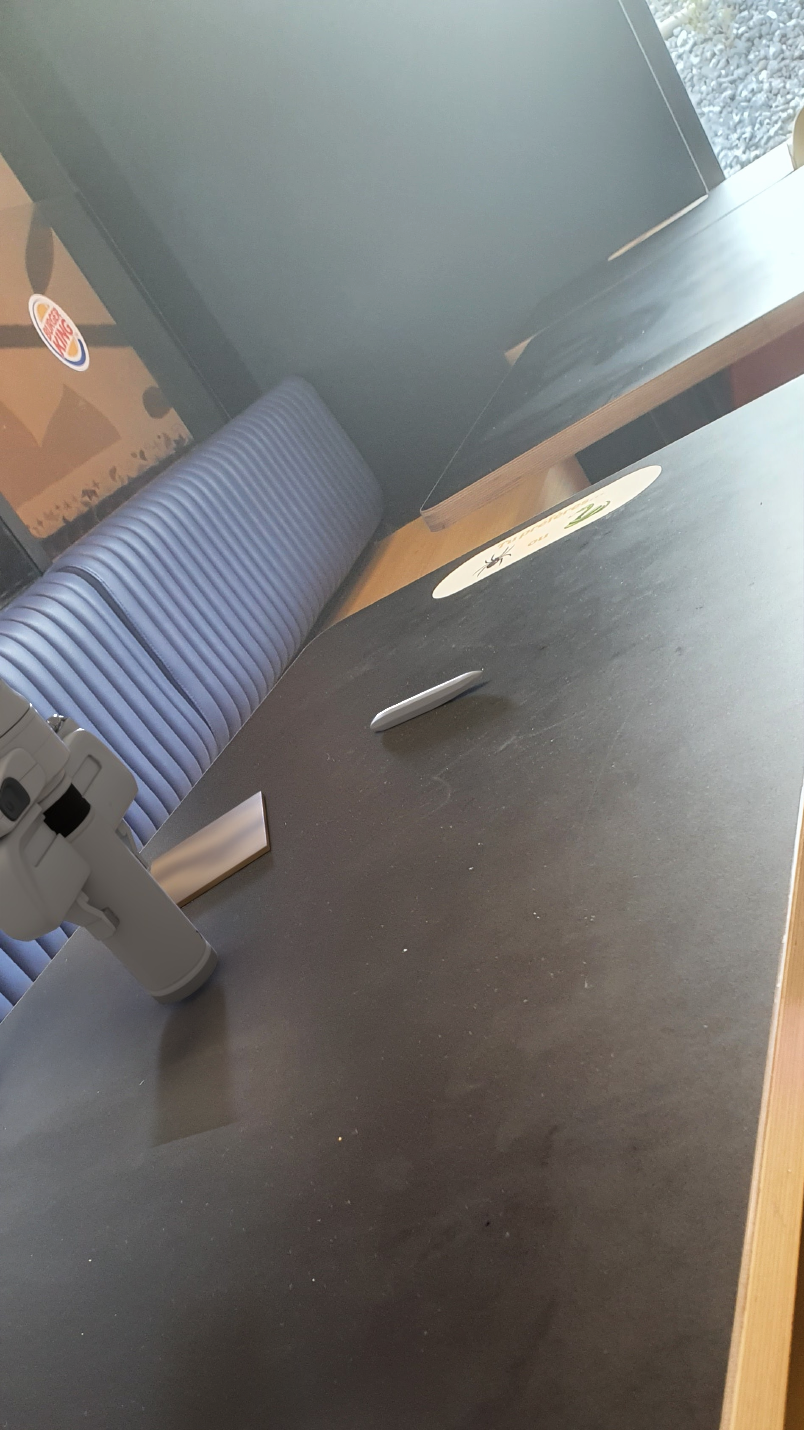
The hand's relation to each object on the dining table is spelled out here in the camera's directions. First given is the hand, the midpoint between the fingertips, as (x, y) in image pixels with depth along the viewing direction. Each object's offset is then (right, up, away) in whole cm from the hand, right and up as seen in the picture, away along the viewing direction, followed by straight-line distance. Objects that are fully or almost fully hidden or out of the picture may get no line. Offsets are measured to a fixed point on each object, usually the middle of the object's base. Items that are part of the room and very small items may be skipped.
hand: (125, 903), depth 92 cm
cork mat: (+1, +4, +24) cm, 25 cm away
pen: (+23, +19, +24) cm, 39 cm away
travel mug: (+4, -6, +4) cm, 9 cm away
